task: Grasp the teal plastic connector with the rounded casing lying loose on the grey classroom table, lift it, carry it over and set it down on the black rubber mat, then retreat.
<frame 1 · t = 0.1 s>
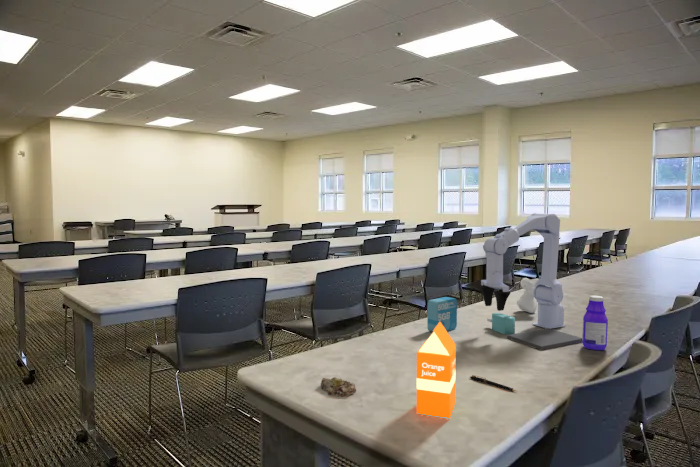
hand: (494, 308, 171), 10 cm above the table, fingers open, 7 cm apart
mineral rock: (338, 391, 123), on the table
rubber mat: (544, 340, 165), on the table
fountain pen: (493, 387, 125), on the table
orange juice: (436, 410, 111), on the table
teal connector: (503, 331, 176), on the table
white teddy bear: (530, 313, 205), on the table
bottle: (594, 348, 155), on the table
data package: (442, 330, 179), on the table
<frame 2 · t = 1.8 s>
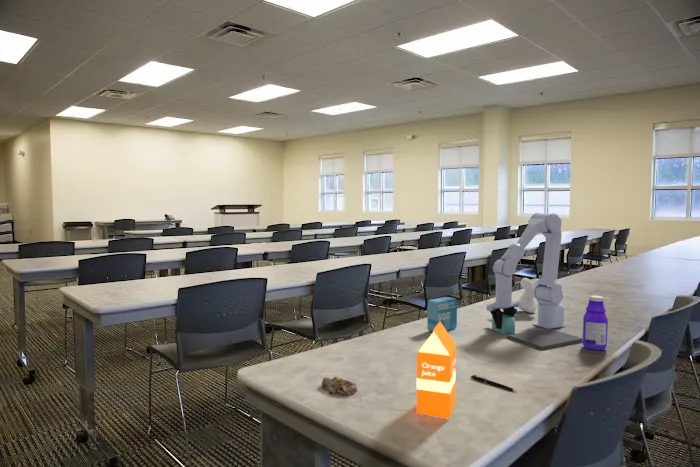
hand: (503, 327, 176), 1 cm above the table, fingers closed on teal connector, 4 cm apart
teal connector: (503, 331, 176), on the table, touching gripper
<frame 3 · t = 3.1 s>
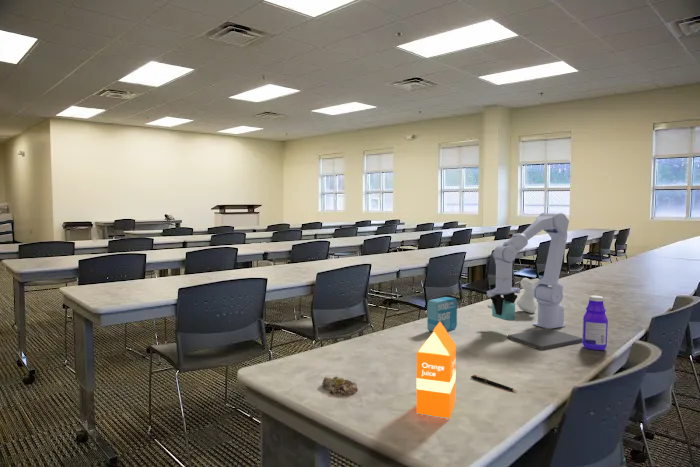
hand: (503, 313, 176), 7 cm above the table, fingers closed on teal connector, 4 cm apart
teal connector: (503, 317, 176), point 5 cm above the table, touching gripper
everything else where it was.
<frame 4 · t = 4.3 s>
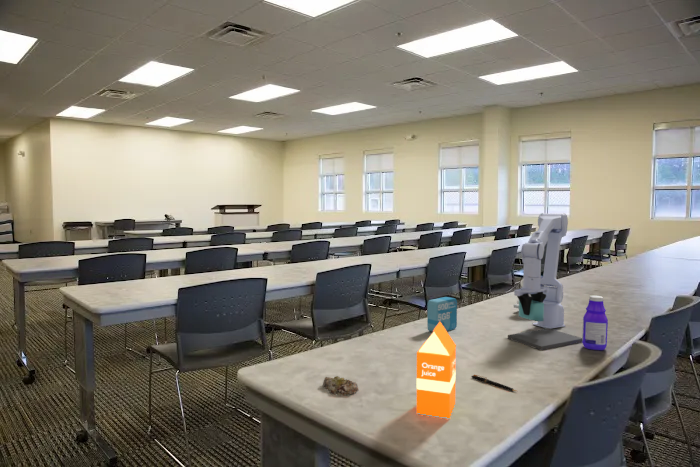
hand: (531, 314, 168), 8 cm above the table, fingers closed on teal connector, 4 cm apart
teal connector: (530, 318, 168), point 7 cm above the table, touching gripper
everything else where it was.
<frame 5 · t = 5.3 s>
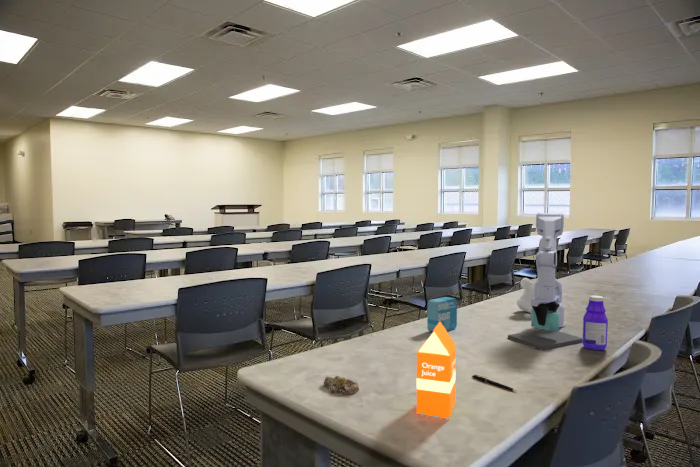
hand: (545, 323, 164), 6 cm above the table, fingers closed on teal connector, 4 cm apart
teal connector: (544, 327, 165), point 4 cm above the table, touching gripper
when the fingers open (4 cm above the table, at t = 6.0 s): teal connector drops 1 cm, resting on rubber mat.
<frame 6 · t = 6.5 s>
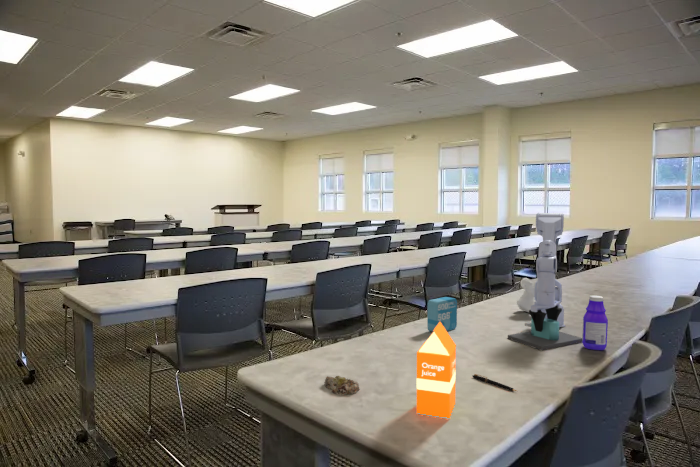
hand: (545, 329, 165), 4 cm above the table, fingers open, 7 cm apart
teal connector: (544, 336, 165), point 1 cm above the table, touching rubber mat
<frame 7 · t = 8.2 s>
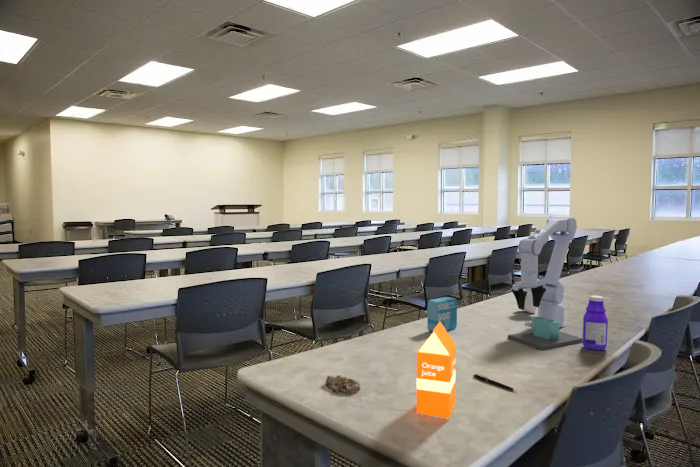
hand: (528, 307, 174), 9 cm above the table, fingers open, 7 cm apart
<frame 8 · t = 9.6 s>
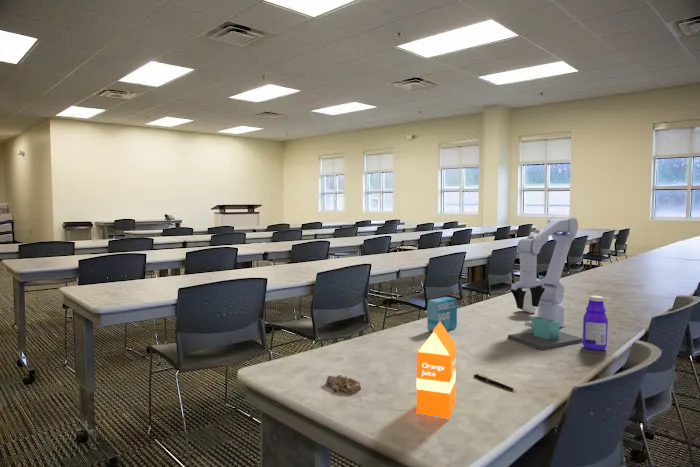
hand: (527, 307, 174), 9 cm above the table, fingers open, 7 cm apart
at the end: teal connector inside the target area on the rubber mat (0.1 cm from its centre), point 1.2 cm above the rubber mat's base; teal connector touching rubber mat; the gripper is holding nothing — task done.
